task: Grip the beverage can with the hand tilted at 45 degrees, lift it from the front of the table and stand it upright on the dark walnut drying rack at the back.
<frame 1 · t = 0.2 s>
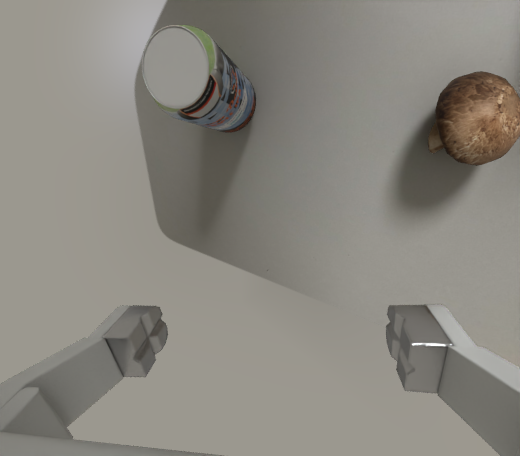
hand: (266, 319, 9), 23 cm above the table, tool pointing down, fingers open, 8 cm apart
beverage can: (228, 96, 28), on the table
mushroom: (456, 120, 25), on the table
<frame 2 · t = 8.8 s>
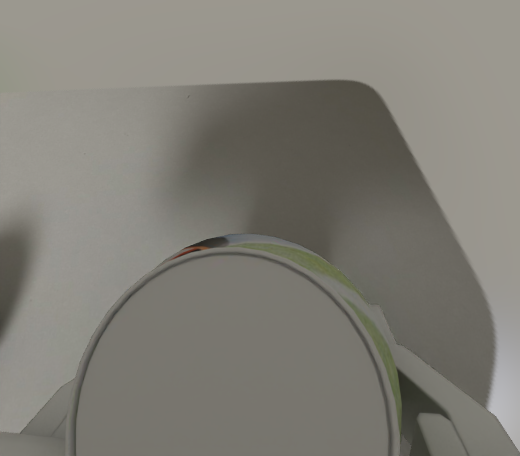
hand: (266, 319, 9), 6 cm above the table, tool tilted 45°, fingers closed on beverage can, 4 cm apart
beverage can: (281, 336, 15), on the table, touching gripper
when the fingers open (11 cm above the table, at t = 18.1 s): beverage can stays where it is, resting on rack.
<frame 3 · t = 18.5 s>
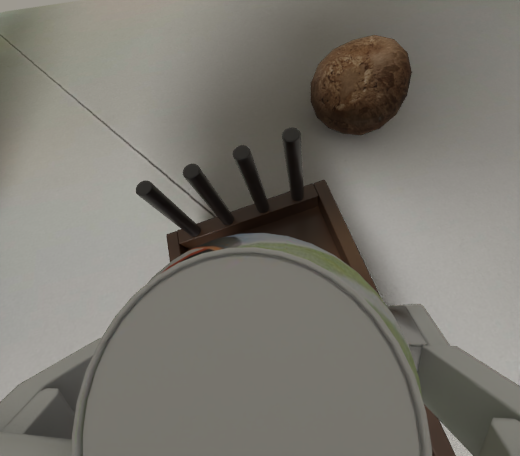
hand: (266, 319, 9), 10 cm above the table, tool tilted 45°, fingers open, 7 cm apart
beverage can: (284, 336, 15), point 4 cm above the table, touching rack
mushroom: (351, 115, 24), on the table
rack: (289, 334, 18), on the table
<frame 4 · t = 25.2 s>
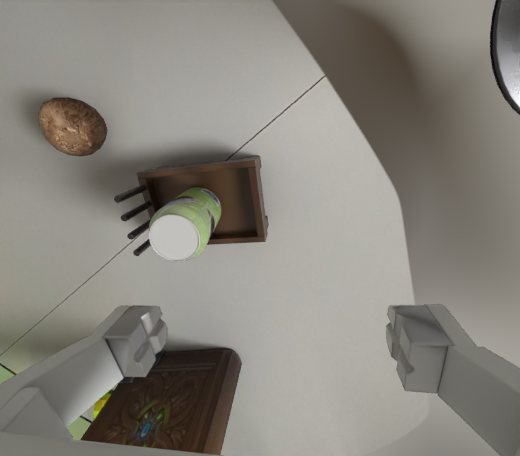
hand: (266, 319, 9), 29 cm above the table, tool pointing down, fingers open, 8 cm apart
beverage can: (206, 204, 35), point 4 cm above the table, touching rack
apple: (114, 392, 64), on the table
mushroom: (91, 127, 37), on the table
decorative book: (190, 359, 55), on the table
rack: (214, 196, 39), on the table
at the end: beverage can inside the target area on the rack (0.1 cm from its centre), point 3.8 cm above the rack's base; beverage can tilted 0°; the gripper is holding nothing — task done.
